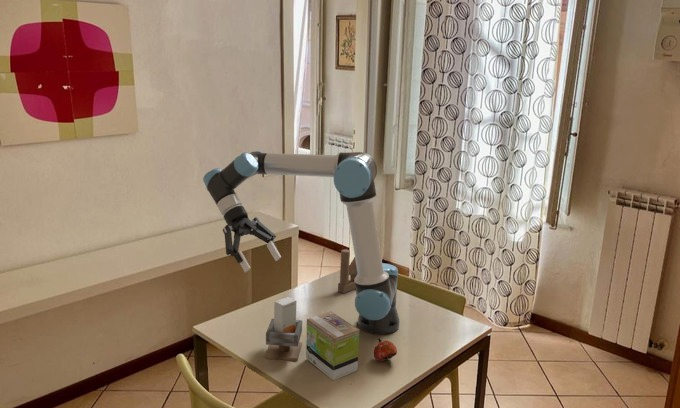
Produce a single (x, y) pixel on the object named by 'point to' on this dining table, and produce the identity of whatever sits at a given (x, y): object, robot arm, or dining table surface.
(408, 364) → the dining table surface
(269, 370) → the dining table surface
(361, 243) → the robot arm
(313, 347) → the tea box
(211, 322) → the dining table surface
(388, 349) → the red rounded piece
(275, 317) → the skincare box
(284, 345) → the cup stand
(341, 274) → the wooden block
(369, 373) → the dining table surface
